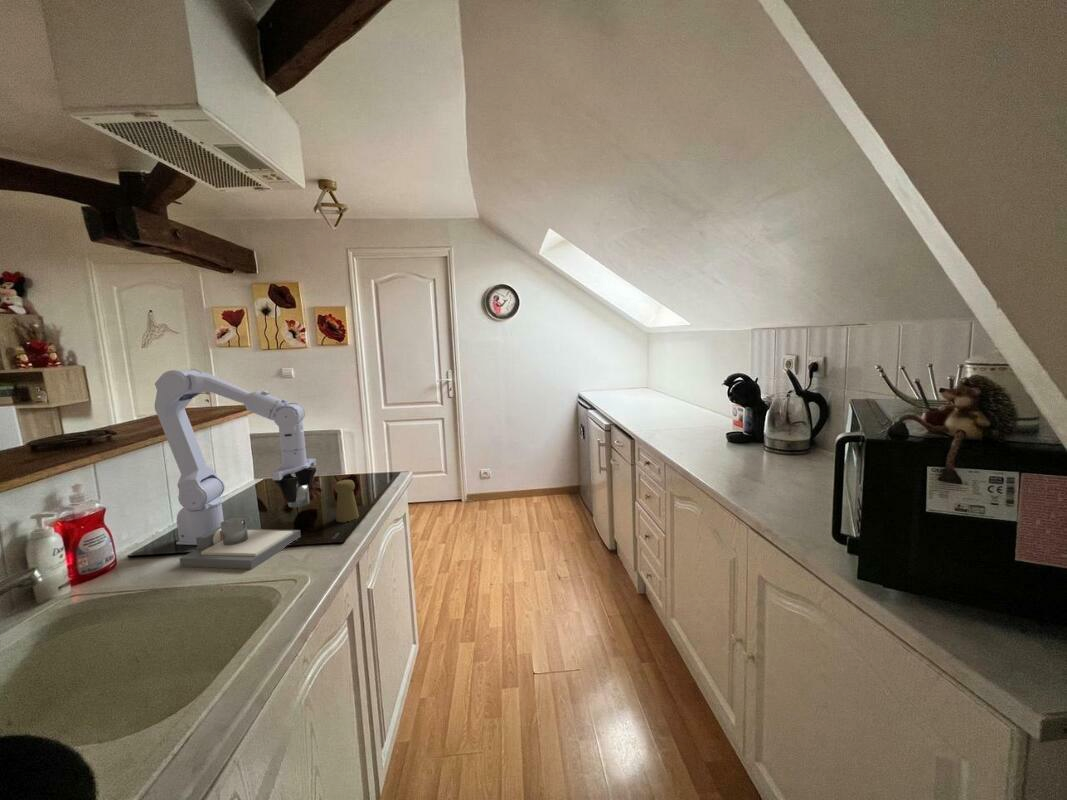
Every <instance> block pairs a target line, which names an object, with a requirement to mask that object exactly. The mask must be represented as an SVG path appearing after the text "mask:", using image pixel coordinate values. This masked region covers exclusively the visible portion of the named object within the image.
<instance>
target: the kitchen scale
mask: <svg viewBox="0 0 1067 800" xmlns="http://www.w3.org/2000/svg"><path fill="white" fill-rule="evenodd" d="M247 532H248V539H247V540H246V541H244V542H242V543H239V544H235V545H223V539H222V531H221V526H220V527H218V528H216V529H213V530H211V531H209V532H207V533H205V534H203V535H201V536H199V537H197V538H196V541H197V545H196V546H197V549H195V550H193V551H191V552H189V553H187V554H185V555H183V556H180V557H179V564H180V565H179V566H180V567H181V568H182V567H184V568H185V567H187V568H206V567H215V568H214V569H233V568H236V569H237V568H238V569H237V570H253V569H255V568H256V567H258V566H259V565H261V564H262V563H264V562H266V561H267V560H269V559H270V558H271V557H273V556H275V555H276V554H278V553H279V552H281V551H282V550H285V547H286V546H287V545H289V544H290V543H292V542H293V541H295V540H296V541H298V540H299V539H298V538H300V537H301V538H302V535H301V529H271V528H270V529H268V528H267V529H264V528H260V529H259V528H247ZM301 538H300V539H301ZM297 539H298V540H297ZM296 541H295V542H296ZM293 543H294V542H293ZM293 543H292V544H293ZM290 545H291V544H290ZM290 545H289V546H290ZM287 547H288V546H287ZM287 547H286V548H287Z"/></svg>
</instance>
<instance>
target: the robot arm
mask: <svg viewBox="0 0 1067 800" xmlns="http://www.w3.org/2000/svg"><path fill="white" fill-rule="evenodd" d="M154 386H155V388H156V394H155V400H154V410H155V413H156V415H157V417H158V421H159V423H160V426H161V427H162V430H163V433H164V435H165V438H166V440H167V443H168V444H169V445H168V446H169V447H170V449H171V452H172V455H173V458H174V460H175V463H176V464H177V467H178V471H179V473H180V476H179V479H178V482H177V488H178V496H177V497H178V502H179V505H180V506H181V507H182V508H181V509H180V510H179V511H178V512H177V515H176V526H177V534H178V541H177V542H175V543H176V544H175V545H189V546H190V545H191V546H197V541H196V538H197V537H199V536H201V535H203V534H205V533H207V532H209V531H211V530H213V529H216V528H218V527H220V526H221V522H223V521H225V519H224V513H223V506H222V505H223V504H222V499H221V495H223V493H224V492H225V487H226V486H225V482H224V481H223V480H222V478H220V477H218V475H217V474H216V471H215V469H213V468H211V467H210V466H208V465H207V462H206V460H205V457H204V455H203V453H202V449H201V447H200V445H199V442H198V439H197V437H196V434H195V431H194V430H193V427H192V423H191V422H190V418H189V417H188V415H187V412H186V408H187V407H188V405H189V404H190V403H191V401H192V400H193V399H194V398H195V397H197V396H198V395H200V394H201V393H212V394H215V395H218V396H221V397H222V398H227V399H229V400H232V401H234V402H238V403H241V404H243V405H244V406H245V409H246V411H248V412H250V413H252V414H255V415H258V416H260V417H263V418H265V419H268V420H271V421H274V423H275V425H276V426H277V427H278V434H279V444H280V453H281V454H280V455H281V463H282V466H281V467H280V468H278V469H277V470H275V471H273V472H271V477H272V479H271V480H272V481H274V483H275V484H277V486H278V487H279V488H280V490H281V492H282V494H283V496H284V498H285V501H286V503H288V502H291V503H293V502H296V485H297V484H298V483H307V484H308V489H309V495H310V493H311V488H312V483H313V479H314V476H315V474H316V472H317V468H316V467H315V466H317V459H316V458H312V457H309V458H307V449H306V439H305V431H304V423H303V420H304V419H305V417H306V412H305V409H304V407H302V405H300V404H298V403H297V402H288V399H284V398H282V399H280V398H278V397H276V396H274V395H270V392H269V391H267V390H262V391H261V390H257V391H256V390H255V391H253V392H251V391H248V390H246V389H244V388H242V387H239V386H237V385H235V384H233V383H231V382H228V381H226V380H224V379H222V378H220V377H217V376H215V375H213V374H212V373H209V372H203V371H201V370H200V369H194V368H193V369H185V370H184V369H183V370H176V369H175V370H167V371H165V372H164V373H162V374H161V375H160V376H159V377H158V379H157V380H156V381H155V383H154ZM293 474H294V475H295V476H294V475H293Z"/></svg>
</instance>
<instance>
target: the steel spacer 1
mask: <svg viewBox="0 0 1067 800" xmlns="http://www.w3.org/2000/svg"><path fill="white" fill-rule="evenodd" d="M247 526H248V524H247V518H246V516H245V517H244V516H237V517H232V518H231V517H230V518H228V519H224V521H223V522H221V531H222V539H223V545H235V544H239V543H242V542H244V541H246V540H247V539H248V532H247V529H248V527H247Z"/></svg>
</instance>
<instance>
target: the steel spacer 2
mask: <svg viewBox="0 0 1067 800" xmlns="http://www.w3.org/2000/svg"><path fill="white" fill-rule="evenodd" d="M310 502H311V501H310V494H309V489H308V484H307V483H298V482H297V485H296V502H293V503H291V502H287V504H288V507H289V508H299V507H305V506H306V505H309V504H310Z"/></svg>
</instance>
